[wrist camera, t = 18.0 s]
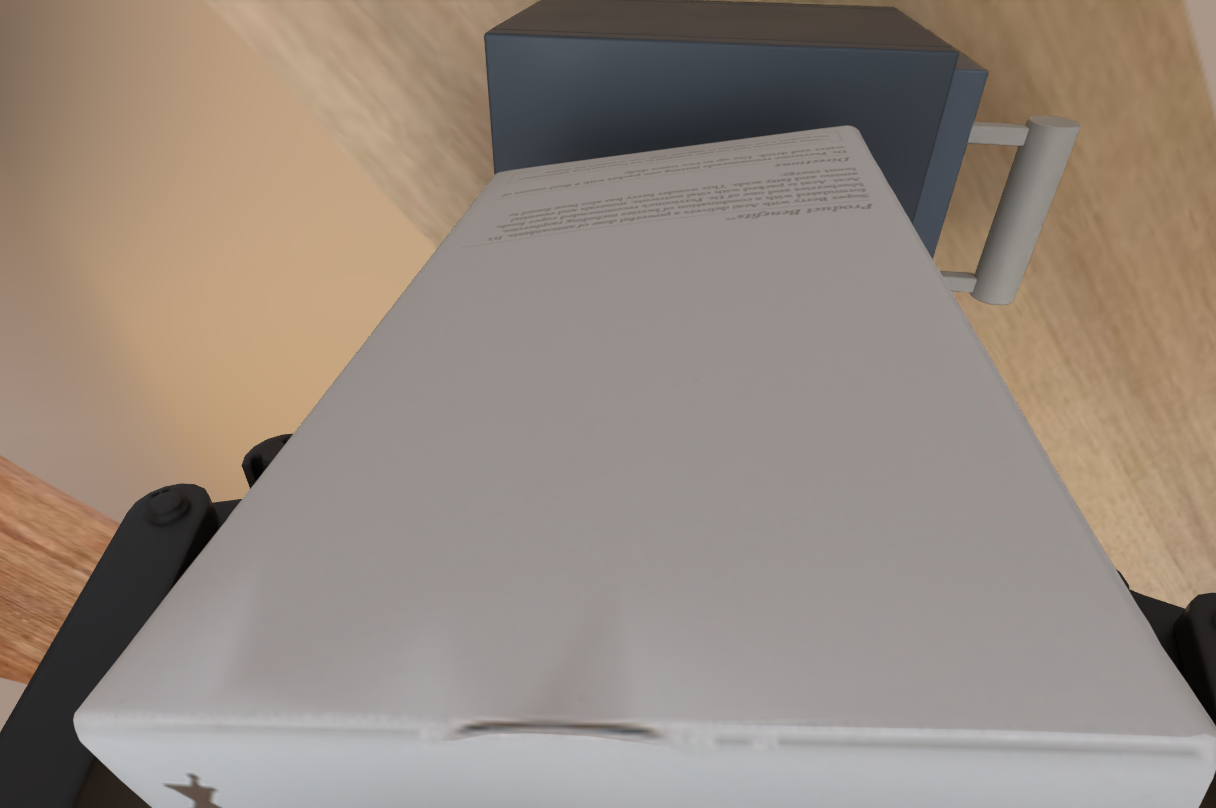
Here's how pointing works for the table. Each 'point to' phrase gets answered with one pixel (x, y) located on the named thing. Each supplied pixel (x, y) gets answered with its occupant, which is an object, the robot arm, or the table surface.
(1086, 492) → the table surface
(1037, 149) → the drawer
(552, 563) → the rectangular carton
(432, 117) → the table surface
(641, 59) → the cabinet
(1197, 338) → the table surface
